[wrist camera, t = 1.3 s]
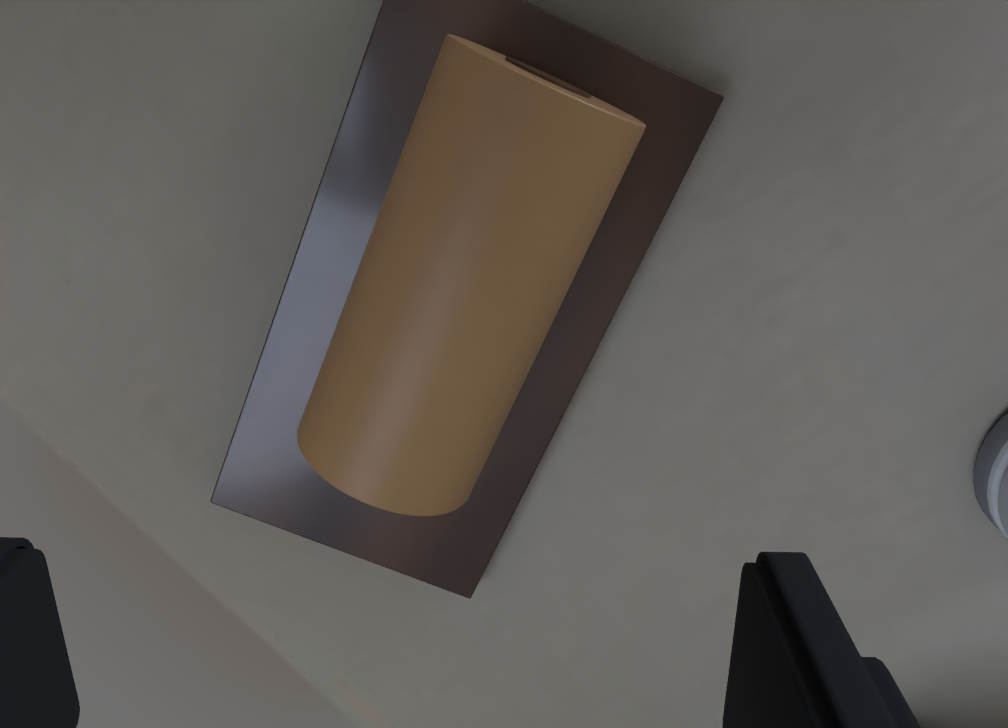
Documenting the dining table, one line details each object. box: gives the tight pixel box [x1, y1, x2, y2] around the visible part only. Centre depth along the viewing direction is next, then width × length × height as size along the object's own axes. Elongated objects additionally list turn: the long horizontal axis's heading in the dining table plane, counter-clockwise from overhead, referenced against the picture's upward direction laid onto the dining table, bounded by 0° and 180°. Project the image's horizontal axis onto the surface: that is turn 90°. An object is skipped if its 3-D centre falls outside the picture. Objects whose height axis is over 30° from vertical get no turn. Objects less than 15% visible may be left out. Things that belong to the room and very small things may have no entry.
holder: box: [210, 0, 724, 598], centre depth 28 cm, size 10×19×1 cm, turn 157°
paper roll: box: [297, 34, 646, 516], centre depth 24 cm, size 6×12×6 cm, turn 157°
